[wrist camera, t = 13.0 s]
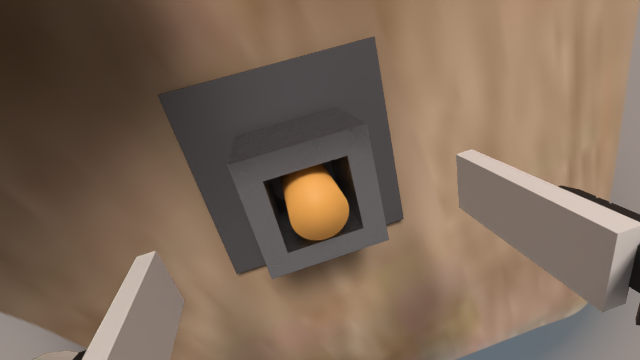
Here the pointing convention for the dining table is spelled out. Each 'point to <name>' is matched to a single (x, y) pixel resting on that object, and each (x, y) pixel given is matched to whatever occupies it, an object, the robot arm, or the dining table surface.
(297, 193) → the post
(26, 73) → the dining table surface
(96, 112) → the dining table surface
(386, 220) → the mat
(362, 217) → the socket
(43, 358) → the foam cup
